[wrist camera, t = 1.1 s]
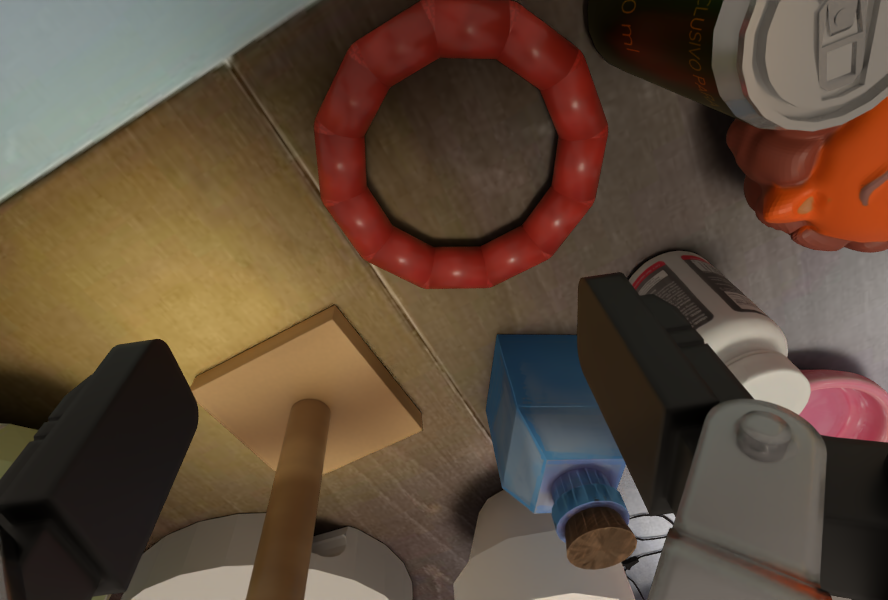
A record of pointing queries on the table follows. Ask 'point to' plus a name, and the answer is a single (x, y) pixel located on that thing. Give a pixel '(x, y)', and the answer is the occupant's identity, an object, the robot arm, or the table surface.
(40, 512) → the robot arm
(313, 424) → the peg stand
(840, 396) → the saucer
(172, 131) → the table surface
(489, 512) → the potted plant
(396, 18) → the ring
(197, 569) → the grey plate
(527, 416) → the perfume bottle
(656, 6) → the beer can
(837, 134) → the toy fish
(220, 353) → the table surface
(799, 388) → the pill bottle
